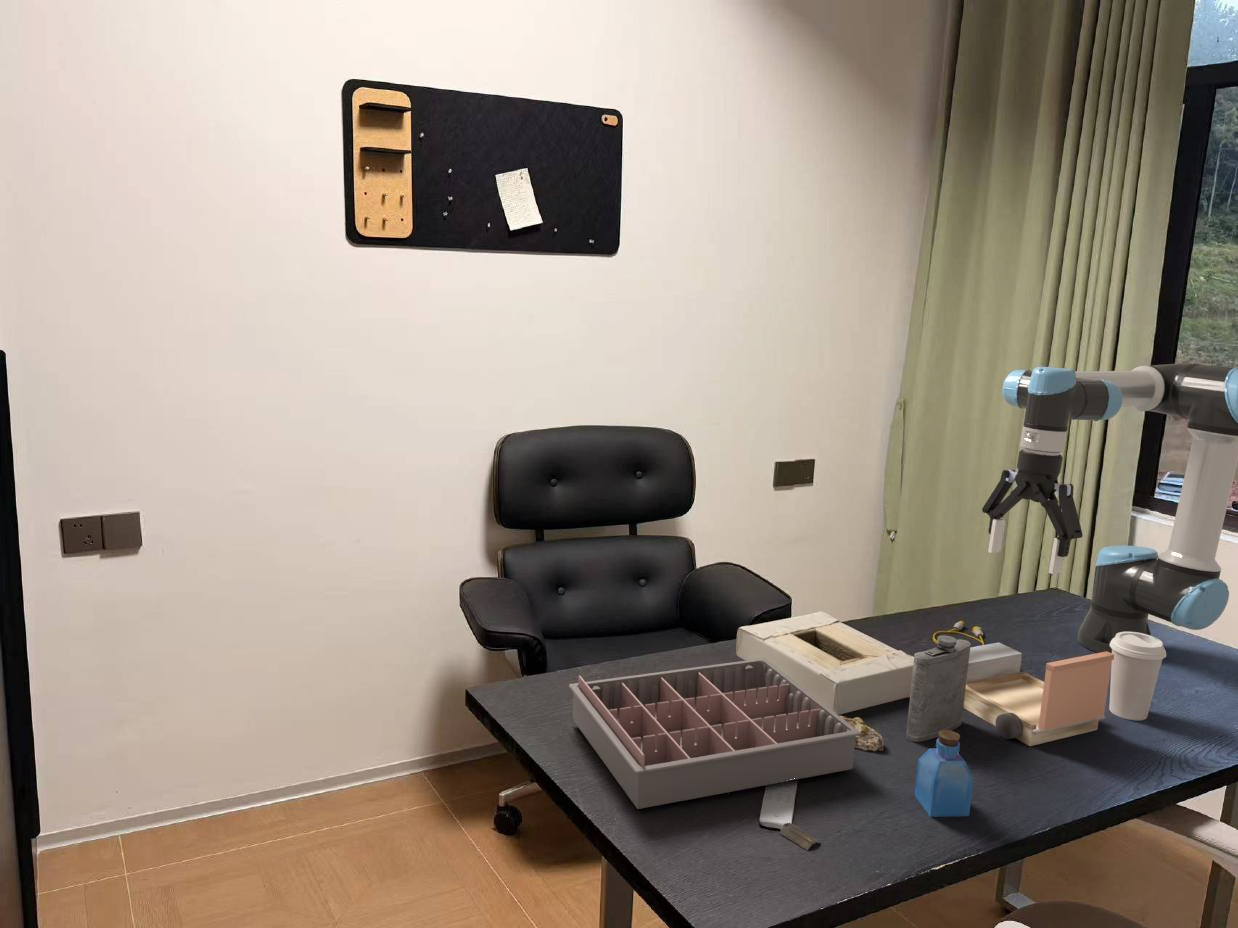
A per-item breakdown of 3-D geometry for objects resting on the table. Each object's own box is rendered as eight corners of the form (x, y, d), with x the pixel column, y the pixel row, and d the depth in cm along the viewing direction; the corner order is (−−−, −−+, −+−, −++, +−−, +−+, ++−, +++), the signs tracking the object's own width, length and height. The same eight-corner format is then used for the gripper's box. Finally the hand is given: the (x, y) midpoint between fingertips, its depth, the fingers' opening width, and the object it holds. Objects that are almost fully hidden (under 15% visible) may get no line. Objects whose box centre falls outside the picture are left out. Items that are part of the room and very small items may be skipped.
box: (925, 696, 193) (817, 638, 220) (929, 659, 191) (819, 606, 218) (836, 722, 181) (733, 658, 208) (839, 683, 179) (735, 624, 206)
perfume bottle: (914, 794, 155) (921, 725, 153) (952, 794, 156) (960, 725, 153) (929, 816, 149) (937, 744, 147) (968, 816, 150) (977, 744, 147)
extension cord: (1006, 644, 220) (1007, 635, 220) (961, 657, 212) (962, 649, 211) (962, 626, 230) (962, 618, 230) (917, 638, 222) (918, 630, 221)
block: (806, 859, 140) (807, 849, 139) (775, 837, 144) (775, 827, 143) (823, 847, 142) (823, 837, 141) (791, 825, 146) (792, 816, 146)
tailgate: (1031, 733, 172) (1041, 663, 169) (1100, 717, 179) (1110, 650, 176) (1039, 737, 170) (1049, 667, 167) (1108, 721, 177) (1118, 653, 174)
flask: (968, 724, 180) (979, 633, 176) (919, 745, 171) (929, 649, 168) (951, 717, 183) (961, 626, 179) (902, 736, 174) (912, 642, 170)
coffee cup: (1163, 727, 181) (1175, 651, 178) (1108, 720, 183) (1119, 646, 180) (1147, 704, 190) (1158, 632, 187) (1094, 699, 192) (1105, 627, 189)
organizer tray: (858, 777, 160) (863, 722, 158) (633, 821, 146) (636, 760, 144) (762, 695, 189) (765, 647, 187) (566, 725, 175) (568, 673, 173)
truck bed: (926, 692, 193) (930, 654, 191) (1005, 676, 201) (1010, 640, 200) (1020, 748, 171) (1026, 706, 170) (1105, 727, 180) (1111, 687, 179)
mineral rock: (818, 722, 174) (848, 701, 178) (820, 742, 176) (850, 720, 180) (865, 749, 166) (896, 726, 170) (867, 770, 167) (897, 746, 171)
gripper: (973, 439, 188) (958, 545, 192) (1089, 465, 167) (1069, 583, 171) (999, 438, 192) (984, 542, 196) (1116, 464, 170) (1096, 580, 174)
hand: (1023, 562), depth 183 cm, fingers open, 13 cm apart
